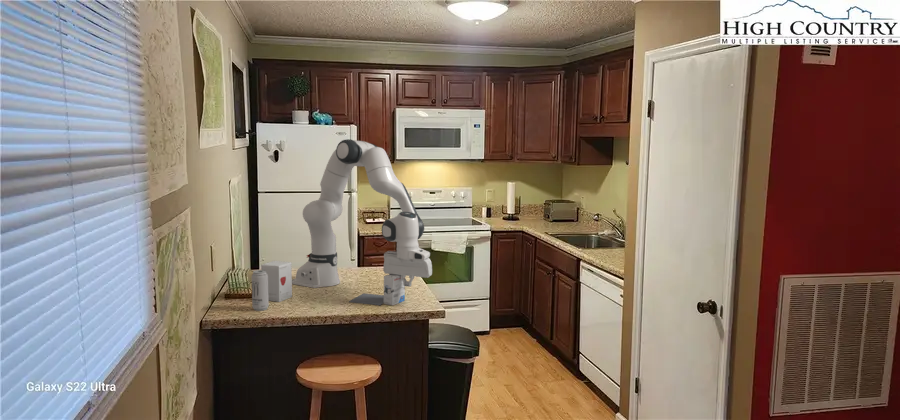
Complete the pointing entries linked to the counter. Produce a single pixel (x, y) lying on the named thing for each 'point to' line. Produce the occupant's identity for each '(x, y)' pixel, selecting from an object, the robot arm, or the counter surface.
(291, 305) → the counter surface
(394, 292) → the ink box
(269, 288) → the supplement box
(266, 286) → the energy drink can
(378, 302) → the mat
